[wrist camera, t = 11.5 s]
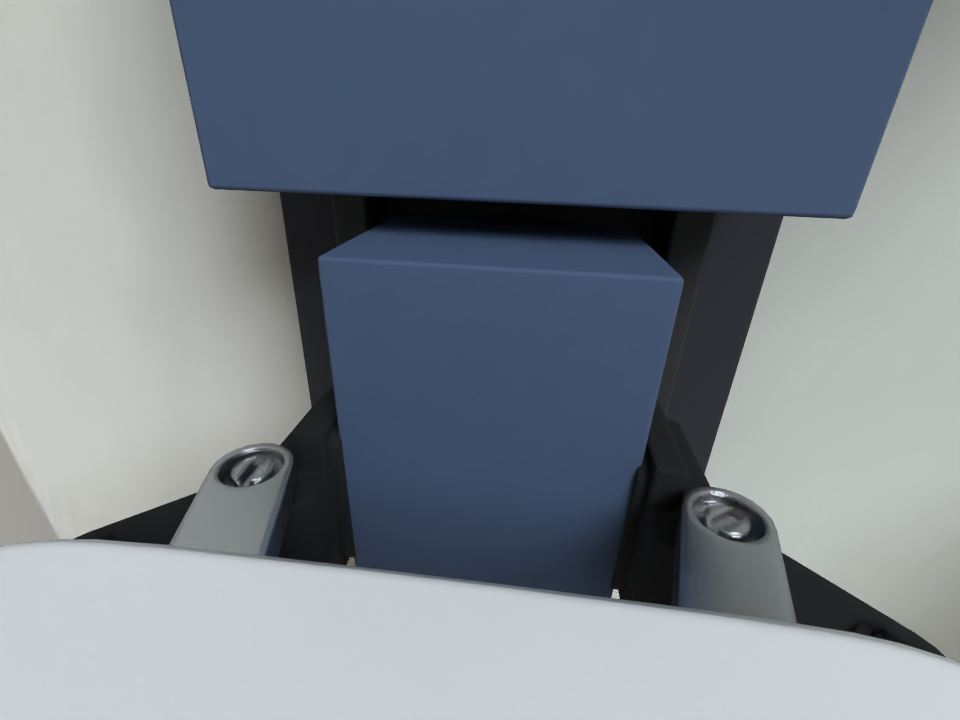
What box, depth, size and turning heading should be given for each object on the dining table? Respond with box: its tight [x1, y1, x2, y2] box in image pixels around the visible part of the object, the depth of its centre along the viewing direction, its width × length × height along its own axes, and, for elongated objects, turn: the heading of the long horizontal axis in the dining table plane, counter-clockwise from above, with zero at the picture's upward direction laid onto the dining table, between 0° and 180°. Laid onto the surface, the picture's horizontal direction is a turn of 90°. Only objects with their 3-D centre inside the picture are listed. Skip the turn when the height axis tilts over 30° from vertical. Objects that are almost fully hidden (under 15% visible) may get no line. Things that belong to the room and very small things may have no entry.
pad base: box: [169, 0, 933, 473], centre depth 10 cm, size 12×22×5 cm, turn 179°
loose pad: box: [318, 215, 684, 598], centre depth 10 cm, size 5×9×4 cm, turn 179°
